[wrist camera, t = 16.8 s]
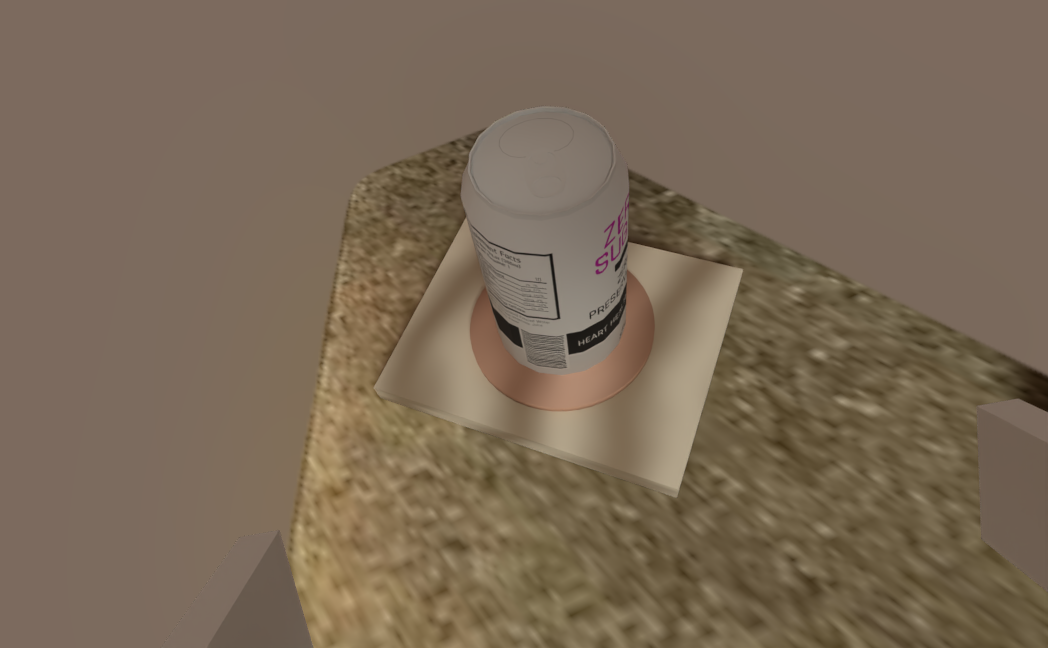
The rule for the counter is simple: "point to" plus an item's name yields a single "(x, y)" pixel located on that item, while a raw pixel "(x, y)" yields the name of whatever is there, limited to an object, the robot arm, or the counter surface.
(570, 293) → the supplement can
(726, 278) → the mount board
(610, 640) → the counter surface
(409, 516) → the counter surface
